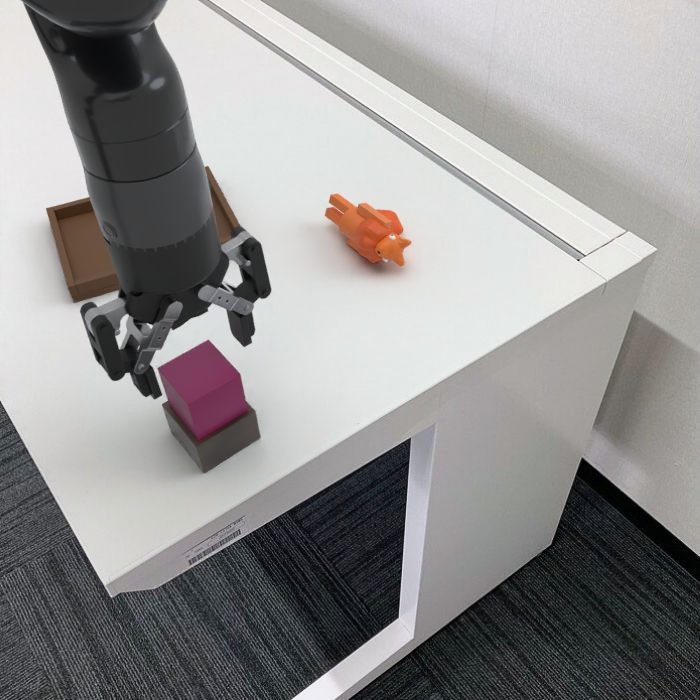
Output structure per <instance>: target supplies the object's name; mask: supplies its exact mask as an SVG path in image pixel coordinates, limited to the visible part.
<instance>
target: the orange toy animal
mask: <svg viewBox="0 0 700 700" xmlns="http://www.w3.org/2000/svg"><path fill="white" fill-rule="evenodd" d="M328 203H329V204H330V205H331V207H326V209H325V213H324V217H326V219H328V220H330V222H332V223H333V224H335V225H336V226H337V227H338V229H339V232H340V233H341V234H342V235H344V236H345V237H346V238H348V239H347V242H346V244H347V245H348V246H349V247H351V248H352V249H353V250H354V251H356V252H357V253H358V255H360V256H362V257H363V258H364V259H366V260H368V261H369V262H370V263H371V264H375V263H380V261H381V260H382V261H383V263H388V262H389V261H393V262H394V263H395V264H396V265H397V266H399V267H404V266H405V264H406V261H405V257H404V251H405V249H406V248H408V247H409V246H410V245H412V240H411V239H407V238H403V237H402V236H400V235H402V234H403V233H404V226H403V224H402V223H401V221H400V218H399V217H398V215H397V213H396V212H395V211H393V210H391V209H381V208H379V209H375V207H373V206H371V205H370V204H368V203H367V202H363V203H362V202H361V203H358V205H357V206H356V205H354V204H353V203H352V202H350V201H349V200H348V199H346V198H345V197H344V196H342V195H341V194H339V193H331V194H330V195H329V199H328Z"/></svg>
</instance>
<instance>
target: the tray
mask: <svg viewBox="0 0 700 700" xmlns="http://www.w3.org/2000/svg"><path fill="white" fill-rule="evenodd" d="M205 170H206V174H207V178H208V180H209V182H210V186H211V199H212V203H213V208H214V213H215V218H216V223H217V228H218V233H219V238H220V242H221V245H223V244H224V243H226V242H228V241H230V240H231V232H232V230H233V229H234V228H235V227H237V226H241V224H240V222H239V220H238V219H237V216H236V215H235V213H234V211H233V210H232V207H231V206H230V203H229V201H228V200H227V198H226V196H225V194H224V192H223V190H222V188H221V187H220V185H219V183H218V181H217V179H216V177H215V176H214V173H213V171H212V170H211V168H210V166H209V165H206V166H205ZM45 210H46V214H47V217H48V221H49V224H50V229H51V233H52V236H53V240H54V243H55V247H56V250H57V254H58V257H59V258H58V259H59V261H60V266H61V268H62V272H63V276H64V280H65V283H66V287H67V290H68V292H69V294H70V297H71V300H72V302H73V303H74V304H75V303H77V302H82V301H85V300H88V299H92V298H95V297H98V296H101V295H104V294H108V293H111V292H115V291H119V289H120V283H119V280H118V277H117V275H116V272H115V269H114V266H113V263H112V261H111V258H110V255H109V252H108V249H107V246H106V243H105V241H104V238H103V235H102V232H101V229H100V226H99V223H98V221H97V218H96V215H95V212H94V209H93V207H92V204H91V201H90V197H89V196H88V197H84V198H81V199H76V200H73V201H67V202H65V203H61V204H57V205H54V206H50V207H46V208H45Z"/></svg>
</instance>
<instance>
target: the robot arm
mask: <svg viewBox="0 0 700 700" xmlns="http://www.w3.org/2000/svg"><path fill="white" fill-rule="evenodd" d="M20 1H21V2H22V5H23V7H24V9H25V11H26V13H27V16H28V18H29V20H30V22H31V25H32V27H33V29H34V32H35V34H36V36H37V38H38V41H39V43H40V45H41V47H42V50H43V51H44V54H45V56H46V59H47V60H48V63H49V65H50V67H51V71H52V72H53V75H54V78H55V82H56V85H57V89H58V91H59V96H60V100H61V103H62V109H63V111H64V115H65V119H66V122H67V124H68V126H69V127H68V128H69V130H70V132H71V133H70V134H71V135H72V138H73V141H74V144H75V147H76V150H77V153H78V155H79V159H80V161H81V166H82V169H83V174H84V179H85V187H86V191H87V193H88V197H90V201H91V204H92V207H93V209H94V212H95V215H96V218H97V221H98V223H99V226H100V229H101V232H102V235H103V238H104V241H105V243H106V246H107V249H108V252H109V255H110V258H111V261H112V263H113V266H114V269H115V272H116V275H117V277H118V280H119V283H120V289H119V290H118V294H117V298H115V299H112V300H110V301H108V302H105V303H103V304H101V305H100V306H98V305H97V304H96V303H95V302H93V301H87V302H85V303H83V304H82V305H81V307H80V309H79V314H80V316H81V320H82V322H83V325H84V328H85V331H86V335H87V338H88V341H89V344H90V346H91V350H92V354H93V356H94V359H95V361H96V362H97V363H98V365H99V366H101V368H102V369H103V370H104V371H105V373H106V374H107V376H108V378H109V379H110V380H111V381H113V382H118V381H120V380H122V379H123V378H124V377H125V376H126V374H129V375H130V378H131V381H132V383H133V385H134V386H135V388H136V389H137V390H138V392H140V394H141V395H142V396H143V397H145V398H148V397H151V398H152V399H153V401H154V400H157V399H158V398H160V397H162V396H163V392H162V389H161V387H160V384H159V381H158V378H157V375H156V372H155V369H154V367H153V366H152V364H151V363H152V360H153V358H154V356H155V354H156V351H161V350H162V349H163V347H164V345H165V344H166V343H165V342H166V341H167V338H168V336H169V334H170V331H171V330H172V331H175V330H177V329H178V328H180V327H182V326H183V325H184V324H186V323H187V322H188V321H190V320H192V319H195V318H197V317H198V318H199V317H201V316H203V315H204V314H206V313H208V312H209V308H210V307H211V306H212V305H216V306H218V307H220V308H222V309H225V310H226V315H227V321H228V325H229V329H230V333H231V335H232V336H233V338H234V339H235V340H236V341H237V342H238V343H239V344H240V345H241V346H242V347H243V348H246V347H248V346H249V345H251V344H253V340H252V337H253V336H255V333H256V325H255V322H254V321H255V320H254V315H253V310H254V308H255V303H256V302H257V301H258V300H259V299H261V300H264V299H267V298H268V297H269V296H270V295H271V293H272V285H271V281H270V276H269V272H268V268H267V263H266V258H265V254H264V251H263V246H262V243H261V242H260V241H259V240H258V239H257V238H255V237H254V236H253V235H252V234H251V233H250V231H249V232H248V231H247V229H245V228H244V226H241V225H240V226H237V227H235V228H234V229H233V230H232V232H231V240H230V241H228V242H226V243H224V244H223V245H221V242H220V238H219V233H218V228H217V223H216V218H215V213H214V208H213V203H212V199H211V186H210V182H209V180H208V178H207V174H206V170H205V167H206V166H205V163H204V161H203V158H202V156H201V153H200V150H199V148H198V144H197V139H196V136H195V131H194V126H193V122H192V117H191V112H190V106H189V102H188V97H187V94H186V90H185V86H184V83H183V79H182V76H181V73H180V71H179V68H178V66H177V64H176V61H175V60H174V59H173V57H172V55H171V53H170V52H169V50H168V48H167V47H166V45H165V44H164V42H163V40H162V38H161V36H160V34H159V31H158V29H157V26H156V22H155V21H156V20H157V19H158V17H159V16H160V15H161V13H162V12H163V11H164V9H165V8H166V5H167V2H168V0H20ZM230 261H233V262H234V263H236V264H237V265H238V269H239V272H240V273H239V274H240V277H241V282H240V283H239V284H238V285H237V286H235V285H234V284H231V283H229V282H227V281H225V280H224V279H225V277H226V274H227V272H228V270H229V267H230ZM126 315H128V316H127V319H126V321H125V328H126V333H125V336H124V338H123V340H122V342H121V345H120V348H119V344H118V340H117V336H119V335H120V334H121V321H122V319H123V318H124V317H125V316H126ZM148 324H149V325H151V326H152V327H150V326H149V325H148Z"/></svg>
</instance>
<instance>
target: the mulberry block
mask: <svg viewBox="0 0 700 700" xmlns="http://www.w3.org/2000/svg"><path fill="white" fill-rule="evenodd" d="M156 369H157V371H158V374H159V377H160V381H161V384H162V388H163V390H164V393H165V396H166V400H167V401H168V402H169V405H170V406H171V407H172V409H173V410H174V411H175V412H176V413H177V415H178V416H179V417H180V418H181V420H182V421H183V422H184V423H185V425H186V426H187V427H188V428H189V430H190V431H191V432H192V433H193V434H194V436H195V437H196V438H197V439H198V440H200V439H202V438H204V437H205V436H207V435H209V434H210V433H212V432H214V431H215V430H217V429H218V428H220V427H222V426H223V425H225V424H227V423H228V422H230V421H232V420H233V419H235V418H236V417H238V416H240V415H241V414H243V413H245V412H246V411H248V409H247V404H246V401H247V399H246V394H245V389H244V385H243V380H242V375H241V372H239V370H238V369H237V368H236V367H235V366H234V365H233V364H232V363H231V362H230V360H229V359H227V357H226V356H225V355H224V354H223V353H222V352H221V351H220V350H219V349H218V348H217V347H216V346H215V345H214V343H213V342H212V341H211V340H210V339H207V340H205V341H203V342H201V343H200V344H198V345H196V346H194V347H192V348H190V349H189V350H187V351H185V352H183V353H181V354H180V355H178V356H176V357H174V358H172V359H171V360H168V361H166V362H165V363H163V364H162V365H160V366H158V367H157V368H156Z"/></svg>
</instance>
